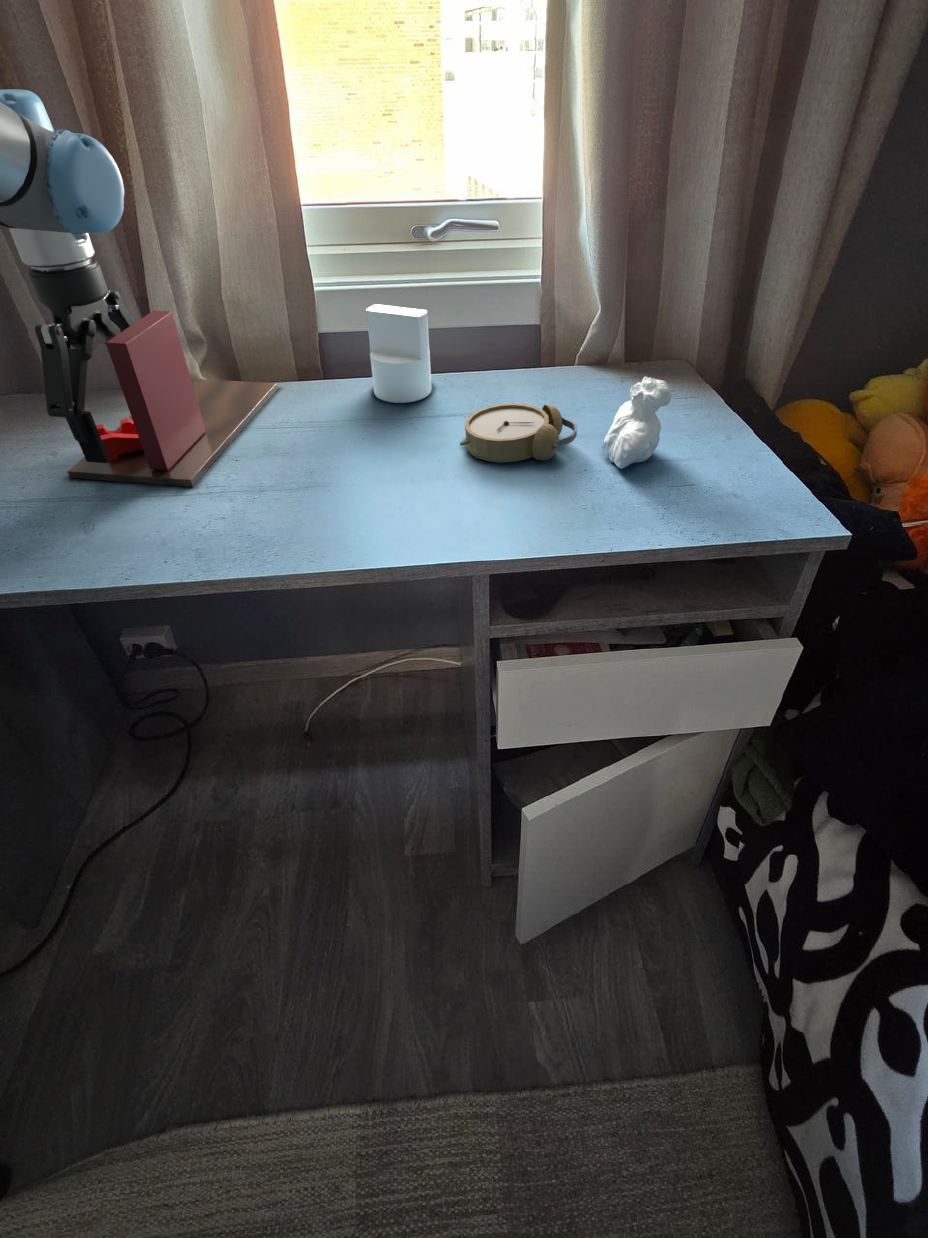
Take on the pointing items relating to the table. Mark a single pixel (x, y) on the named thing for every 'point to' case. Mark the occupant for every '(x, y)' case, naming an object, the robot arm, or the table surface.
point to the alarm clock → (516, 432)
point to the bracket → (120, 439)
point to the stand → (223, 420)
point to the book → (157, 388)
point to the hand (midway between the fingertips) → (126, 436)
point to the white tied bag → (637, 423)
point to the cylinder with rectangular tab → (399, 353)
